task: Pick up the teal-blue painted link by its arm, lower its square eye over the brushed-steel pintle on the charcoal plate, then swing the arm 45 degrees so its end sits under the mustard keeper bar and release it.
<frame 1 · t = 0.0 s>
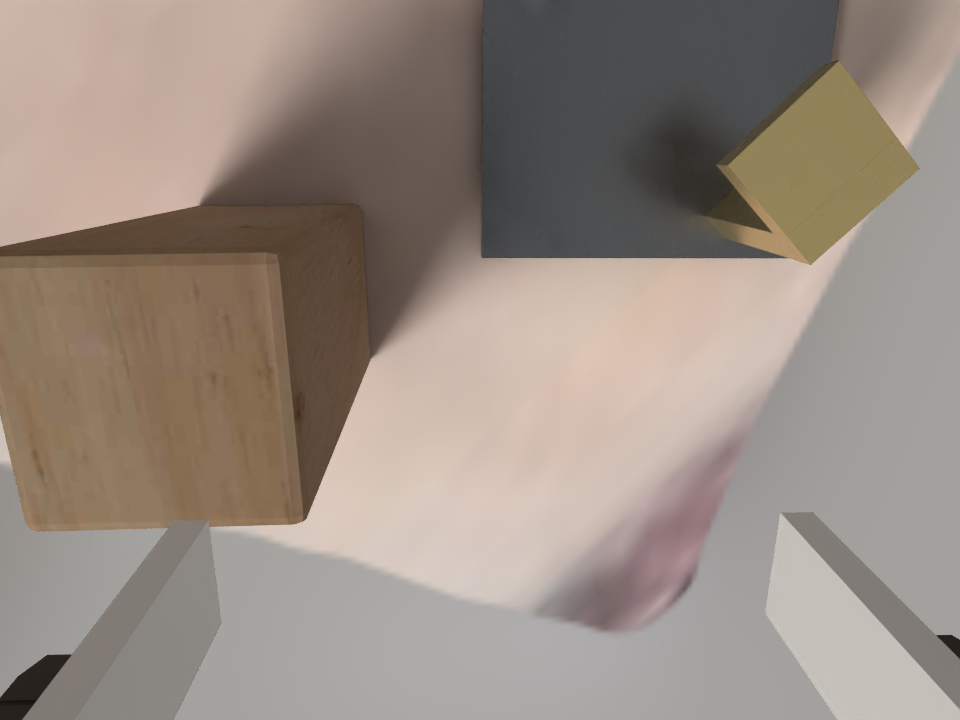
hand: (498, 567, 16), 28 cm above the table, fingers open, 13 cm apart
wooden block: (286, 286, 42), on the table
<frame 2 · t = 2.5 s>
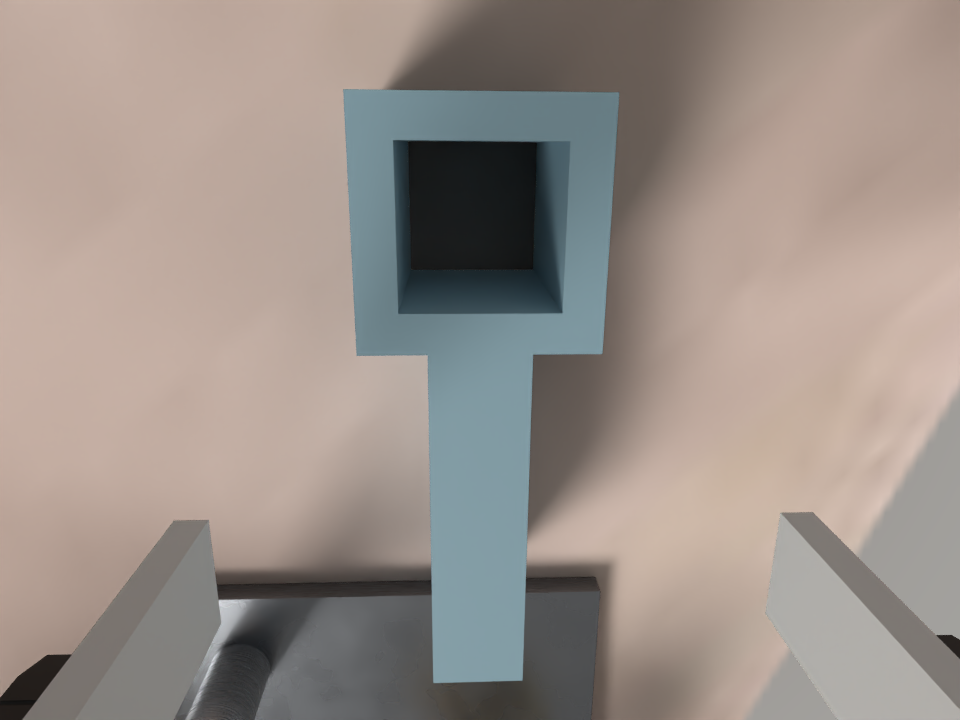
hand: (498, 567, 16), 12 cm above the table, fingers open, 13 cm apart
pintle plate: (247, 651, 30), on the table
link: (471, 560, 29), on the table
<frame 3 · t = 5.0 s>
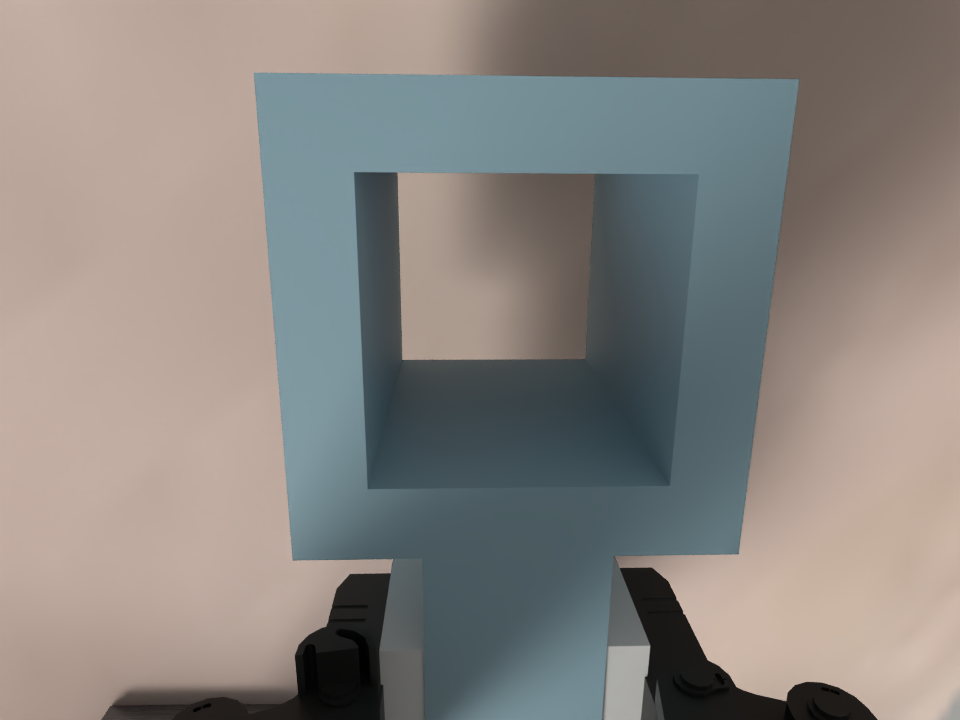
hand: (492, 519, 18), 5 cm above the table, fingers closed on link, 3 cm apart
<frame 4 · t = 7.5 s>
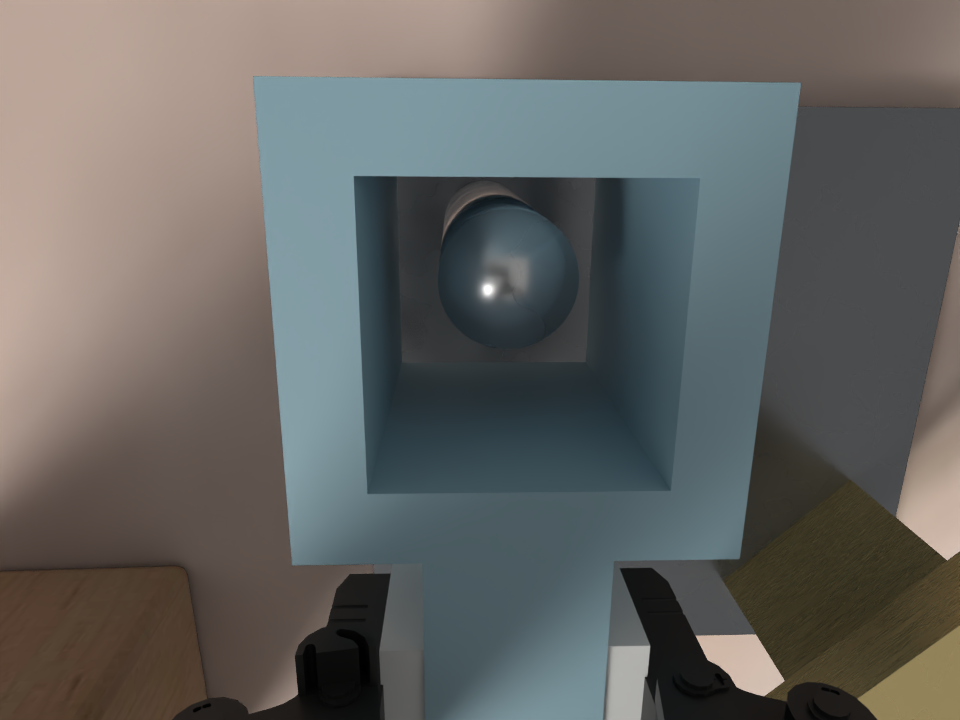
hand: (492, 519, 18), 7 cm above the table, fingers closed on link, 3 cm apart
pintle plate: (482, 218, 22), on the table
wooden block: (84, 667, 27), on the table
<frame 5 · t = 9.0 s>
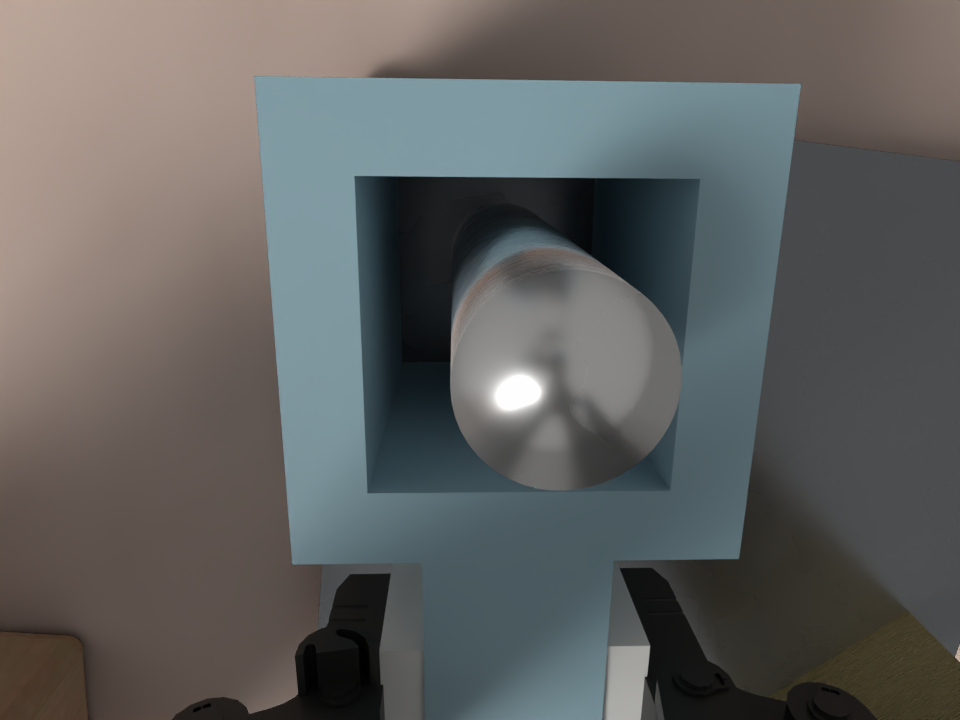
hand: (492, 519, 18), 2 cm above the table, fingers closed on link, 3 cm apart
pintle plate: (500, 248, 18), on the table
when the fingers open (2 cm above the table, at t = 10.2 s): link stays where it is, resting on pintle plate.
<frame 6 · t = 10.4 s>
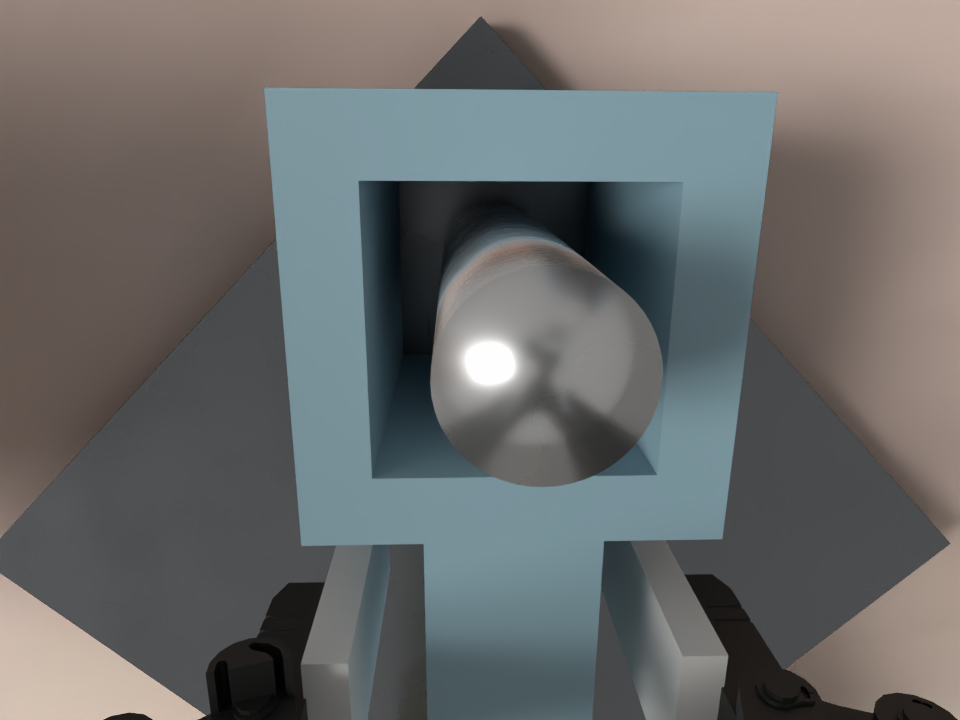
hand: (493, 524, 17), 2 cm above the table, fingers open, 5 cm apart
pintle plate: (491, 246, 18), on the table
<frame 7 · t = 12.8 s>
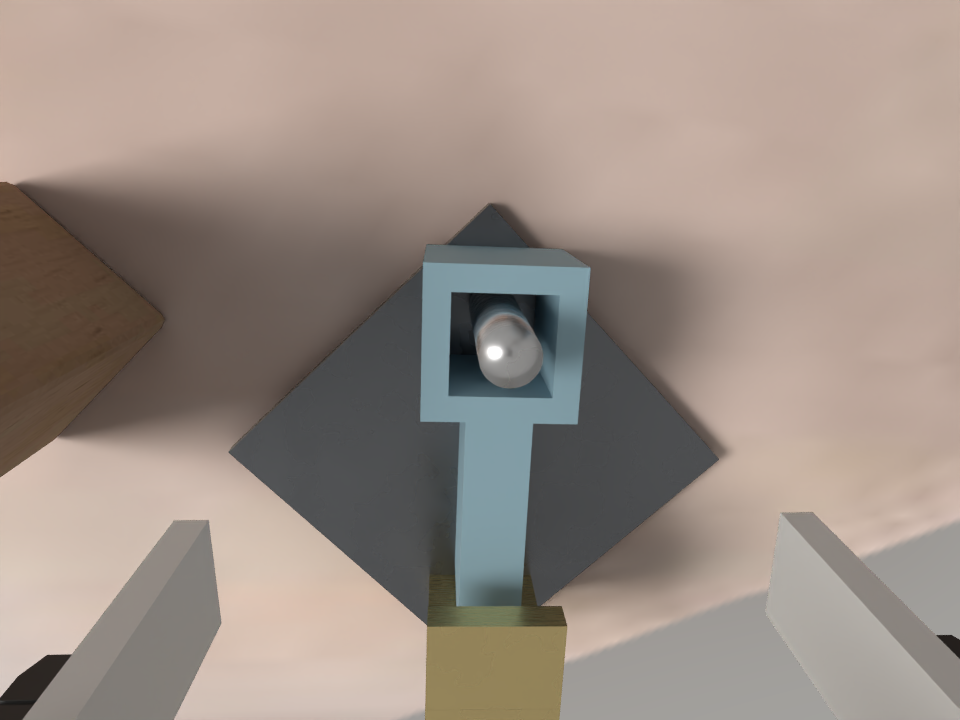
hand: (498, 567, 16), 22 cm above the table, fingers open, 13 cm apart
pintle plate: (491, 303, 37), on the table
link: (480, 563, 40), point 1 cm above the table, touching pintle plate
wooden block: (36, 316, 36), on the table
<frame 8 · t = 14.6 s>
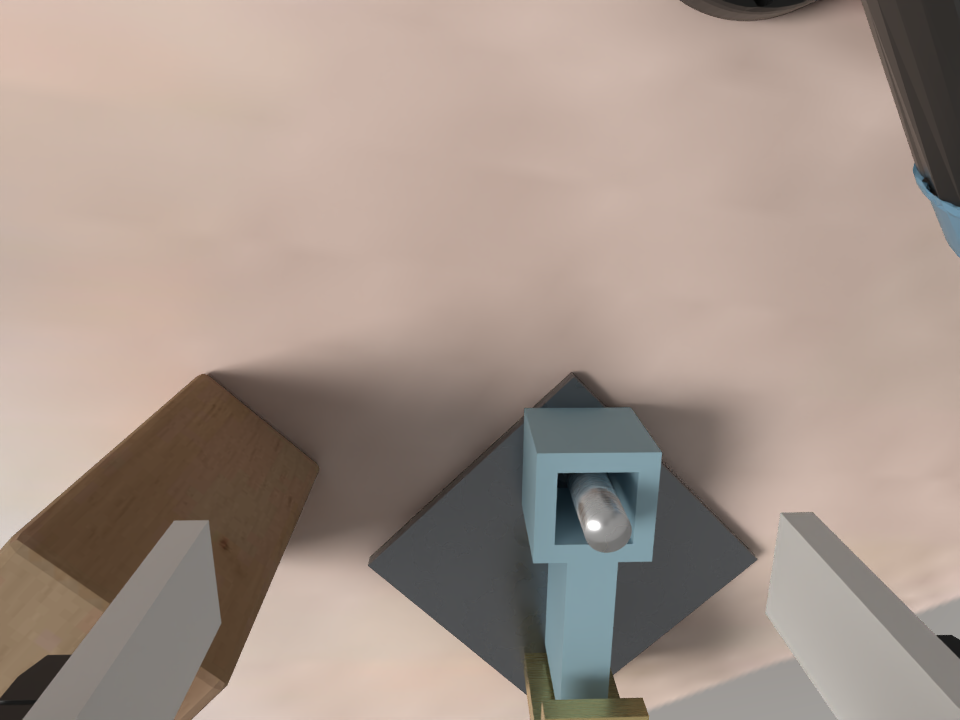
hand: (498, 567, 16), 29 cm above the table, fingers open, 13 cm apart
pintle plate: (573, 445, 46), on the table
link: (565, 643, 50), point 1 cm above the table, touching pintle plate
wooden block: (219, 466, 46), on the table
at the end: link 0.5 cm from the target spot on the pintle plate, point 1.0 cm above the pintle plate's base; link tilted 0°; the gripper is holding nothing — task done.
